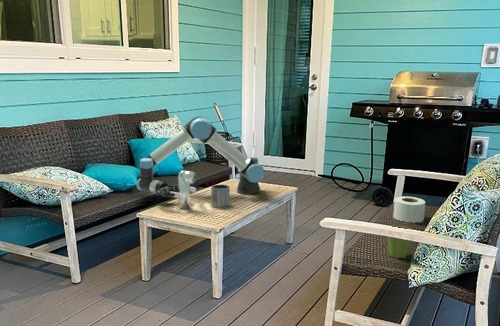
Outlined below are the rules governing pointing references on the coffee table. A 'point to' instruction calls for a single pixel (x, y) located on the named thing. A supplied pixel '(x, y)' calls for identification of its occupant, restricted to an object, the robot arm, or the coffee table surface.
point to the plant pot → (398, 246)
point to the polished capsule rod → (185, 188)
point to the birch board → (197, 208)
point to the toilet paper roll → (409, 209)
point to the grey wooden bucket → (220, 196)
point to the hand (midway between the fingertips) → (188, 193)
